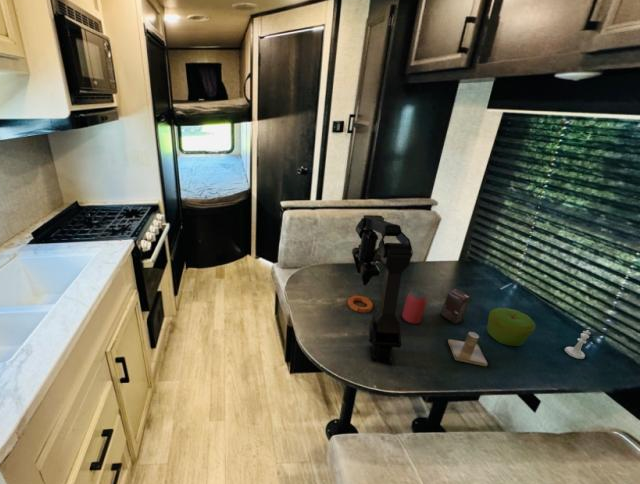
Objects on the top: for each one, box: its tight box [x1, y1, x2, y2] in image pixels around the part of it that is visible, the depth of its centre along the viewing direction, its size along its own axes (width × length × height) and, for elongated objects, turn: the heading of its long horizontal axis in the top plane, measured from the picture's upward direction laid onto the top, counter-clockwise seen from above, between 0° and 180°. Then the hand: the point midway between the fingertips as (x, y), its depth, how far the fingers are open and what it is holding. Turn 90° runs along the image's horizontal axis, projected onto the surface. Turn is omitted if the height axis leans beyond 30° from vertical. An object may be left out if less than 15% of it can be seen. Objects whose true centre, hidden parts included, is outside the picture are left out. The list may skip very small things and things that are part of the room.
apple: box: [486, 307, 537, 347], centre depth 110 cm, size 12×12×11 cm
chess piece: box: [564, 329, 592, 360], centre depth 104 cm, size 5×5×10 cm
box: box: [440, 287, 471, 325], centre depth 121 cm, size 6×4×12 cm
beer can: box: [401, 289, 428, 324], centre depth 120 cm, size 7×7×12 cm
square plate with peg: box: [447, 331, 488, 367], centre depth 105 cm, size 9×9×8 cm
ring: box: [347, 295, 374, 313], centre depth 131 cm, size 9×9×2 cm
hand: (361, 278), depth 130 cm, fingers open, 9 cm apart
